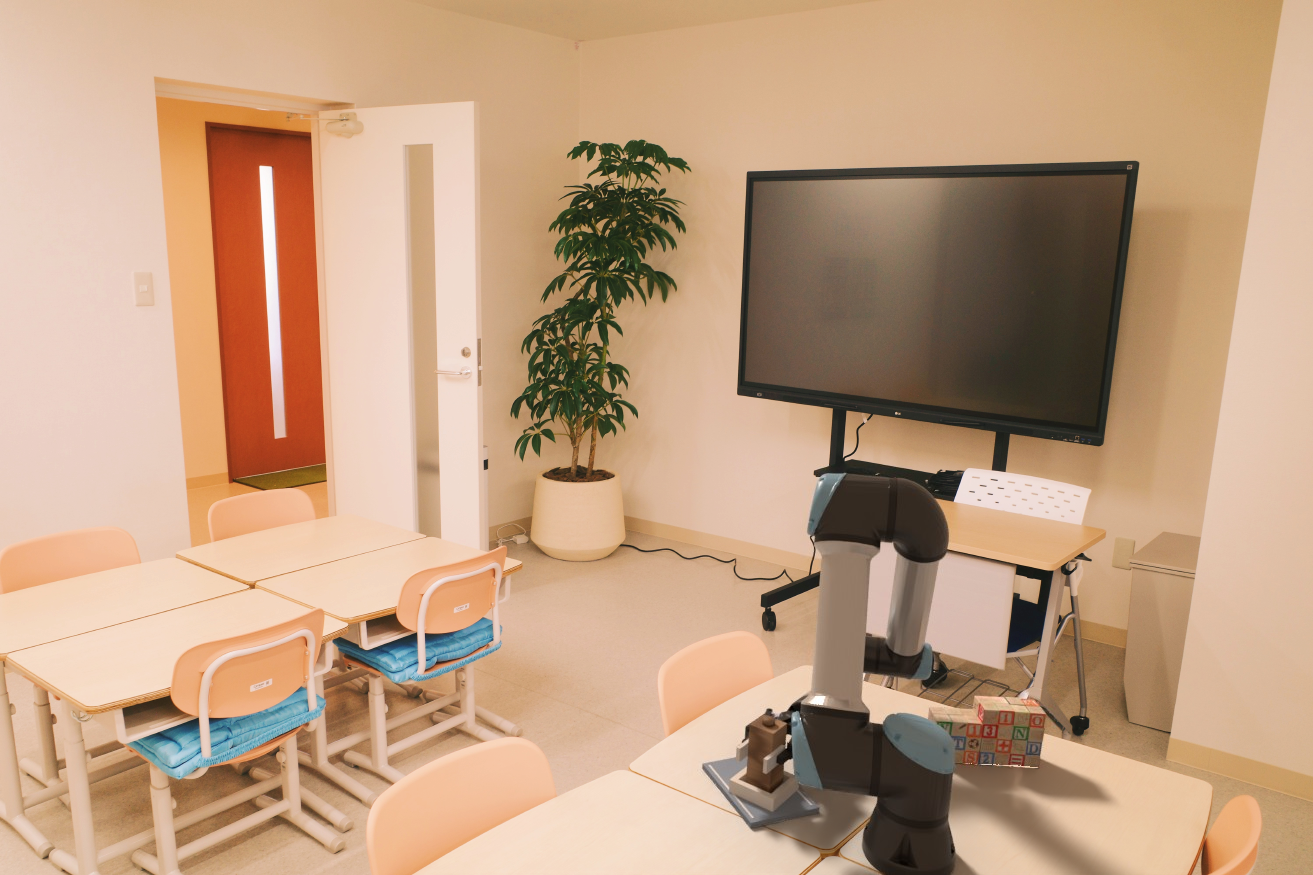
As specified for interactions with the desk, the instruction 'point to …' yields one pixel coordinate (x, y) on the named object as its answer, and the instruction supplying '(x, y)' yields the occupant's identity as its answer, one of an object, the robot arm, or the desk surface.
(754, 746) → the pillar
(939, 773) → the robot arm
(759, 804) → the socket collar
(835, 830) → the desk surface
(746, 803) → the board
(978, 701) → the stack of blocks
